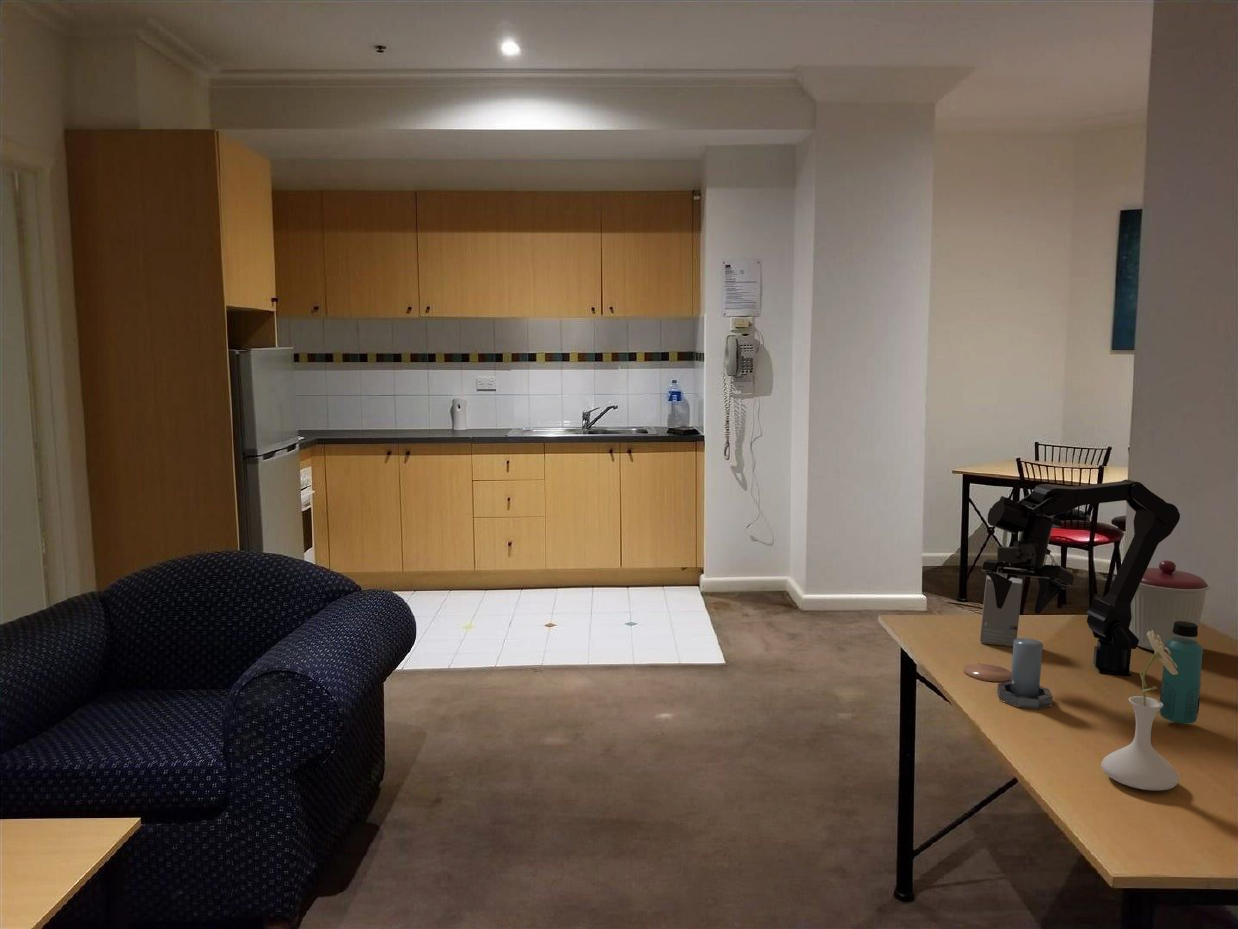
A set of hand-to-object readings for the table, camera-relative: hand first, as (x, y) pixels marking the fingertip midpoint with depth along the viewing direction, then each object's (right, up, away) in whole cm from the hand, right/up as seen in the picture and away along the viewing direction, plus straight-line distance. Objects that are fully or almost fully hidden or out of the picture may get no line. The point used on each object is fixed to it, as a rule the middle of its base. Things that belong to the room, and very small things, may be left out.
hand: (1017, 611), depth 204 cm
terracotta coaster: (-4, -15, +6) cm, 16 cm away
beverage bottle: (+22, -19, -20) cm, 35 cm away
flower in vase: (+2, -22, -44) cm, 49 cm away
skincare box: (+7, -12, +29) cm, 32 cm away
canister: (+45, -13, +27) cm, 54 cm away
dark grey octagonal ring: (-2, -17, -9) cm, 19 cm away
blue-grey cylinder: (-2, -17, -9) cm, 19 cm away
